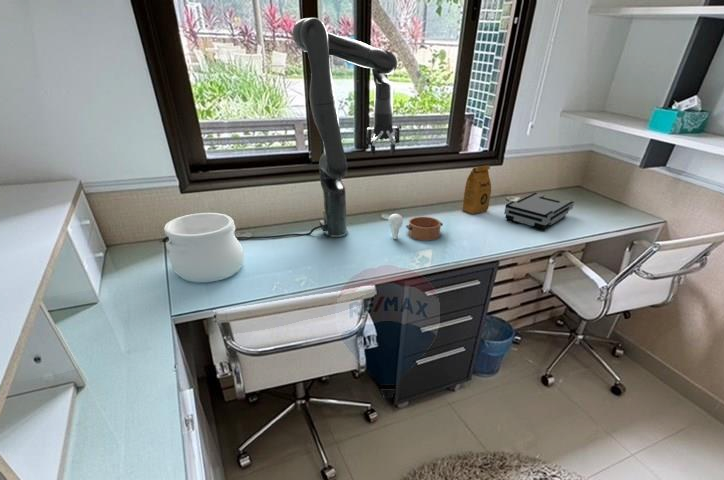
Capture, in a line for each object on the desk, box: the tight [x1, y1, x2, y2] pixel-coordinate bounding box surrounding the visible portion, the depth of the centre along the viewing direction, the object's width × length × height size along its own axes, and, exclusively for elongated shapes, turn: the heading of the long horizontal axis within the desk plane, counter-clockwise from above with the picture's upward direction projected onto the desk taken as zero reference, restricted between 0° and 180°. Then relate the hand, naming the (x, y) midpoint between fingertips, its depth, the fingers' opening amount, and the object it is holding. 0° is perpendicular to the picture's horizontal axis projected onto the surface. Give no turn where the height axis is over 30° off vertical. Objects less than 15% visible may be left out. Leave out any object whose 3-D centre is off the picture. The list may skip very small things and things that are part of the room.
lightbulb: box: [388, 213, 404, 240], centre depth 172 cm, size 6×6×11 cm
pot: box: [163, 212, 245, 283], centre depth 143 cm, size 26×24×18 cm
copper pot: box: [405, 216, 444, 241], centre depth 179 cm, size 16×14×6 cm
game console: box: [503, 192, 575, 232], centre depth 197 cm, size 21×32×8 cm, turn 138°
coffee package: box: [461, 164, 492, 215], centre depth 200 cm, size 10×12×22 cm
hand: (382, 154), depth 173 cm, fingers open, 8 cm apart
